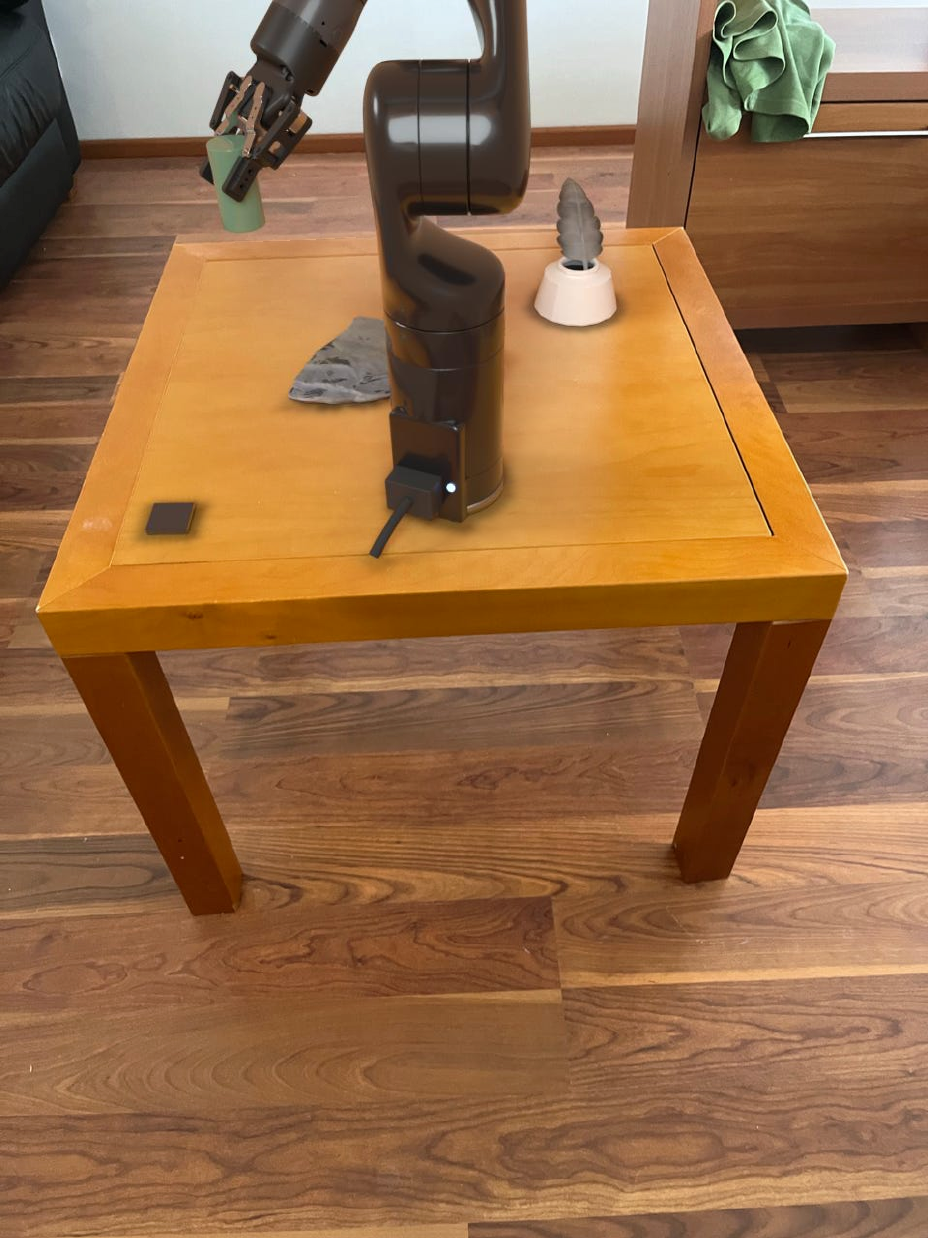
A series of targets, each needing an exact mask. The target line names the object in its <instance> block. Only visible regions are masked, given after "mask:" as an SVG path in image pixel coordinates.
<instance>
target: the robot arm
mask: <svg viewBox="0 0 928 1238" xmlns="http://www.w3.org/2000/svg"><path fill="white" fill-rule="evenodd" d="M368 1H369V0H271V2H270V4H269V6H268V8H267V9H266V12H265V13H264V15H263V17H262V19H261V21H260V23H259V25H258V26H257V29H256V30H255V31H254V34H253V35H252V38H251V40H250V43H249V47H250V49H251V51H252V53H253V54H254V55H255V57H256V61H255V62H254V63H253V65H252V67H251V68H250V69H249V70H248V71H247V72H246V74H245V75H244V76H239V75H238V74H237V73H236V72H235V71H234V70H230V71H229V72H228V73H227V74H226V76H225V78H224V82H223V85H222V87H221V90H220V93H219V96H218V98H217V101H216V103H215V107H214V109H213V112H212V115H211V117H210V120H209V124H208V127H209V129H211V130H212V131H213V132H214V134H213V138H215V137H218V136H223V135H243V136H247V138H246V141H245V144H244V147H243V150H242V156H243V158H242V157H241V156H238V158H237V160H236V162H235V163H234V165H233V167H232V169H231V171H230V173H229V174H228V176H227V178H226V180H225V182H224V183H223V185H222V191H223V193H225V194H226V195H228V196H229V197H231V198H232V199H233V200H235V201H236V202H241V201H243V199H244V197H245V195H246V194H247V192H248V190H249V188H250V187H251V185H252V183H253V181H254V180H255V178H256V176H257V175H259V172H260V171H265V170H267V168H270V169H272V170H273V171H277V170H278V169H279V168H280V167H281V165H282V164H283V163H284V162H285V160H287V158H288V157H289V155H290V154H291V153H292V152H293V150H294V149H295V148H296V147H297V145H298V144H299V143H300V141H301V140H302V139H303V138H304V136H305V135H306V134H307V133H308V132H309V130H310V129H311V127H312V126H313V122H314V121H313V119H312V118H311V117H310V116H308V114H307V113H305V112H304V111H303V109H302V108H301V107H302V105H303V101H304V97H305V95H307V96H308V97H313V98H314V97H317V96H318V95H320V93H321V91H322V90H323V88H324V86H325V84H326V83H327V81H328V78H329V77H330V75H331V74H332V72H333V70H334V68H335V67H336V64H337V63H338V61H339V59H340V57H341V56H342V54H343V52H344V50H345V49H346V47H347V44H348V43H349V41H350V40H351V38H352V35H353V34H354V32H355V30H356V27H357V24H358V22H359V20H360V17H361V15H362V13H363V11H364V9H365V7H366V4H367V3H368ZM466 3H467V6H468V8H469V11H470V14H471V18H472V20H473V23H474V26H475V30H476V34H477V39H478V42H479V47H480V52H481V55H480V57H478V58H470V59H468V58H423V59H421V58H418V59H417V58H411V59H409V58H407V59H403V58H402V59H401V58H400V59H389V60H383V61H380V62H378V63H376V64H375V65H374V66H373V67H372V68H371V70H370V72H369V73H368V76H367V78H366V82H365V84H364V85H365V86H364V90H363V95H362V133H363V135H362V136H363V143H364V153H365V161H366V168H367V175H368V183H369V189H370V196H371V203H372V209H373V218H374V225H375V234H376V242H377V243H376V244H377V252H378V253H377V254H378V264H379V275H380V289H381V303H382V313H383V320H384V325H385V337H386V351H387V363H388V376H389V388H390V397H389V399H390V412H389V413H388V422H389V423H388V425H389V432H390V433H389V434H390V445H391V456H392V470H391V471H390V472H389V474H388V475H387V476H386V478H384V488H385V499H386V508H387V509H388V510H392V511H393V512H392V514H391V515H390V517H389V518H388V520H387V521H386V523H385V524H384V526H383V527H382V529H381V531H380V532H379V534H378V535H377V537H376V539H375V541H374V543H373V545H372V547H371V549H370V551H369V553H368V555H370V556H371V557H372V558H375V559H377V560H378V559H380V556H381V554H382V552H383V550H384V549H385V547H386V545H387V543H388V541H389V539H390V538H391V536H392V535H393V534H394V532H395V530H396V528H397V527H398V526H399V524H400V522H401V521H402V520H403V518H404V517H405V516H406V514H407V515H410V516H413V517H417V518H421V519H423V520H428V521H433V520H434V519H435V517H437V518H441V519H445V520H448V521H452V522H455V523H463V522H464V520H465V519H466V517H468V516H469V515H472V514H476V513H477V512H481V511H482V510H485V509H486V508H488V507H490V506H491V505H492V504H493V503H495V501H496V500H498V499H499V497H500V495H501V493H502V491H503V488H504V469H503V454H504V453H503V452H504V445H503V444H504V394H505V393H504V391H505V389H504V388H505V342H506V341H505V337H506V300H507V298H506V297H507V279H506V271H505V267H504V265H503V263H502V262H501V260H500V258H499V257H498V255H496V254H495V253H494V252H493V251H491V250H490V249H488V248H487V247H485V246H483V245H481V244H479V243H477V242H475V241H472V240H469V239H467V238H464V237H461V236H459V235H457V234H455V233H452V232H450V231H448V230H446V229H444V228H443V227H441V226H440V225H438V224H437V223H435V222H434V221H433V220H431V219H430V218H429V217H468V216H471V217H481V216H482V217H483V216H484V217H485V216H489V217H490V216H503V215H509V214H511V213H514V212H516V211H517V210H518V208H519V207H520V206H521V204H522V202H523V200H524V198H525V194H526V192H527V189H528V183H529V178H530V169H531V156H532V155H531V154H532V153H531V152H532V114H531V84H530V57H529V33H528V31H529V29H528V7H527V6H528V5H527V4H528V3H527V0H466ZM224 115H225V118H224ZM223 118H224V119H223ZM238 130H239V131H238ZM275 149H277V150H276V151H275V153H274V150H275ZM198 174H199V177H201V178H202V179H203V180H205V181H206V182H208V183H209V184H210V185H212V186H214V182H213V177H212V172H211V167H210V163H209V158H208V155H206V157H205V159H204V160H203V162H202V165H201V166H200V168H199V171H198Z"/></svg>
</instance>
